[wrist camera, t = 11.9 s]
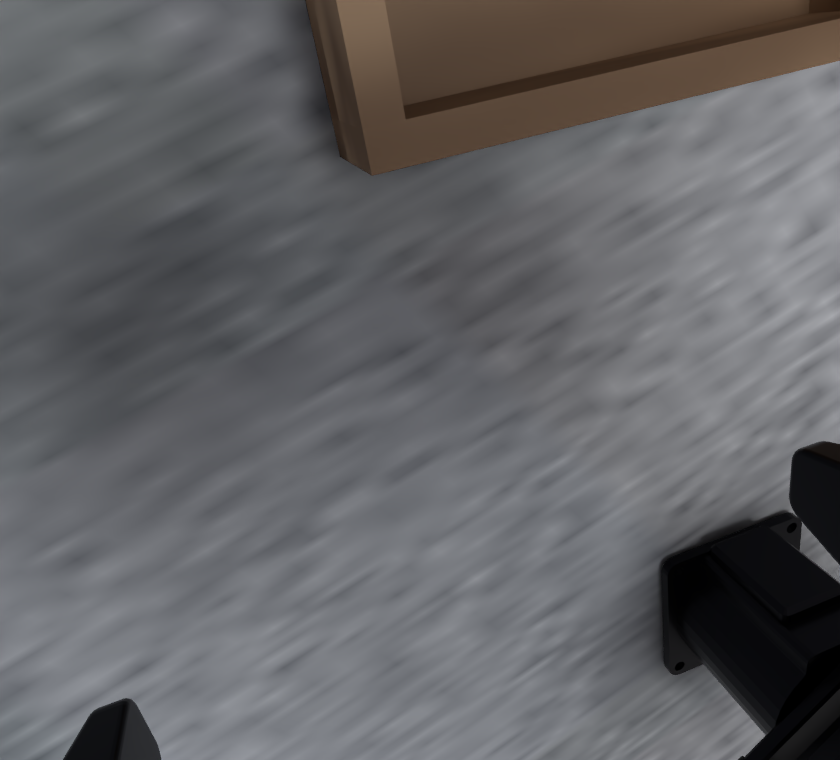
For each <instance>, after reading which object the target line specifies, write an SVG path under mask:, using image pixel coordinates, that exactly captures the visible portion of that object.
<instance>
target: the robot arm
mask: <svg viewBox="0 0 840 760" xmlns="http://www.w3.org/2000/svg"><path fill="white" fill-rule="evenodd" d="M789 500H790V504H791V507H792V509H793V511H794V512H795V514H796V515H797V516H795V515H794V514H793V513H785V514H782V515H780V516H777V517H775V518H772V519H769V520H767V521H764V522H762V523H759V524H757V525H754V526H751V527H749V528H746V529H744V530H741V531H739V532H736V533H733V534H731V535H728V536H726V537H723V538H721V539H718V540H715V541H713V542H710V543H708V544H705V545H703V546H700V547H697V548H695V549H692V550H690V551H687V552H684V553H682V554H679V555H677V556H674V557H672V558H670V559H668V560H667V561H666V562H665V563H664V565H663V567H662V598H663V634H664V664H665V667H666V668H667V669H668V670H669V672H670V673H671V674H673V675H678V674H681V673H683V672H686V671H688V670H690V669H693V668H695V667H697V666H700V665H702V664H704V665H705V666H706V667H707V668H708V670H709V671H710V672H711V673H712V674H713V675H714V676H715V678H716V679H717V680H718V681H719V682H720V683H721V684H722V686H723V687H724V688H725V689H726V690H727V691H728V692H729V694H730V695H731V696H732V697H733V698H734V699H735V700H736V702H737V703H738V704H739V705H740V706H741V707H742V708H743V710H744V711H745V712H746V713H747V714H748V715H749V716H750V718H751V719H752V720H753V721H754V722H755V723H756V725H757V726H758V727H759V728H760V729H761V730H762V731H763V733H764V734H765V735H766V736H765V737H764V738H763V739H762V740H761V741H760V742H759V743H758V744H757V745H756V746H755V747H754V748H753V749H752V750H751V751H750V752H749V753H748V754H747V755H746V756H745V757H743V756H741V757H740V758H739V759H738V760H840V583H839V582H838V581H837V580H836V579H834V578H833V577H832V576H831V575H829V574H828V573H827V572H826V571H824V570H823V569H822V568H820V567H819V566H818V565H817V564H815V563H814V562H813V561H812V560H810V559H809V558H808V557H807V556H805V555H804V554H803V553H801V552H800V551H799V550H800V539H801V527H802V522H803V523H804V525H805V526H806V527H807V528H808V529H809V530H810V531H811V533H812V534H813V535H814V536H815V537H816V538H817V539H818V541H819V542H820V543H821V544H822V545H823V546H824V548H825V549H826V550H827V551H828V552H829V553H830V554H831V556H832V557H833V558H834V559H835V560H836V561H837V562H838V564H839V565H840V444H836V443H832V442H826V441H821V442H817V443H814V444H811V445H809V446H806V447H803V448H800V449H798V450H797V451H796V452H795V453H794V455H793V457H792V464H791V477H790V490H789ZM801 521H802V522H801ZM63 760H161V755H160V751H159V748H158V745H157V742H156V740H155V738H154V736H153V735H152V733H151V731H150V729H149V727H148V725H147V723H146V722H145V720H144V718H143V716H142V714H141V712H140V710H139V709H138V707H137V705H136V703H135V702H134V701H133V700H131V699H128V698H125V699H122V700H119V701H116V702H114V703H111V704H108V705H105V706H103V707H100V708H98V709H96V710H94V711H93V712H92V713H91V714H90V716H89V717H88V719H87V720H86V722H85V724H84V725H83V727H82V729H81V730H80V732H79V734H78V735H77V737H76V739H75V740H74V742H73V744H72V745H71V747H70V749H69V750H68V752H67V754H66V755H65V757H64V759H63Z"/></svg>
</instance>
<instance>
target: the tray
mask: <svg viewBox="0 0 840 760" xmlns="http://www.w3.org/2000/svg"><path fill="white" fill-rule="evenodd" d="M305 1H306V5H307V10H308V14H309V19H310V23H311V28H312V32H313V37H314V41H315V46H316V50H317V55H318V59H319V64H320V68H321V73H322V77H323V82H324V86H325V91H326V95H327V100H328V104H329V109H330V113H331V118H332V122H333V127H334V131H335V136H336V140H337V145H338V149H339V154H340V157H342V158H343V159H345V160H347V161H348V162H350V163H352V164H353V165H355V166H357V167H358V168H360V169H362V170H363V171H365V172H367V173H368V174H370V175H372V176H373V175H377V174H381V173H385V172H389V171H393V170H397V169H401V168H405V167H409V166H413V165H417V164H422V163H426V162H430V161H434V160H438V159H442V158H446V157H450V156H454V155H458V154H462V153H466V152H470V151H474V150H478V149H482V148H486V147H491V146H495V145H499V144H503V143H507V142H511V141H515V140H519V139H523V138H527V137H531V136H535V135H539V134H543V133H547V132H551V131H555V130H559V129H564V128H568V127H572V126H576V125H580V124H584V123H588V122H592V121H596V120H600V119H604V118H608V117H612V116H616V115H620V114H624V113H628V112H633V111H637V110H641V109H645V108H649V107H653V106H657V105H661V104H665V103H669V102H673V101H677V100H681V99H685V98H689V97H693V96H697V95H702V94H706V93H710V92H714V91H718V90H722V89H726V88H730V87H734V86H738V85H742V84H746V83H750V82H754V81H758V80H762V79H766V78H771V77H775V76H779V75H783V74H787V73H791V72H795V71H799V70H803V69H807V68H811V67H815V66H819V65H823V64H827V63H831V62H835V61H840V0H305Z"/></svg>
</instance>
